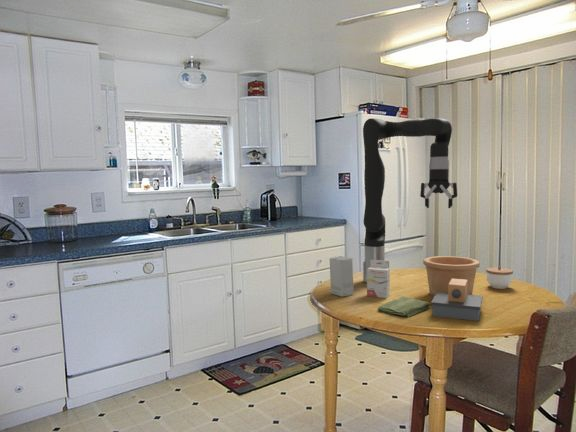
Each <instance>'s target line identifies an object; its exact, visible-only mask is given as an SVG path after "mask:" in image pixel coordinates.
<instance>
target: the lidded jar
mask: <svg viewBox="0 0 576 432" xmlns="http://www.w3.org/2000/svg"><path fill="white" fill-rule="evenodd" d="M485 271H486V274H485V275H486V276H485V277H486V281H487V283H488V284H489V285H490V287H491V288H493V289H498V290H499V289H501V290H503V289H504V290H505V289H507V288H508V287H509V286H510V285H511V284H512V282H513V275H514V270H513V269H510V268H506V267H501V265H498V267H496V266H495V267H487V268H486V269H485Z"/></svg>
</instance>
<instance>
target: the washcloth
mask: <svg viewBox="0 0 576 432" xmlns="http://www.w3.org/2000/svg"><path fill="white" fill-rule="evenodd" d="M430 306H431V303H430V302H427V301H425V300H420V299H415V298H412V297H408V296H402V295H401V296H400V297H399V298H395V299H392V300H390V301H388V302H385V303H383V304H381V305H379V306H378V307H377V311H379V312H384V313H386V314H392V315H396V316H397V315H398V316H401V317H405V318H411V317H413V316H415V315H417V314H419V313H422V312H424V311H425V310H428V309H429V308H430Z"/></svg>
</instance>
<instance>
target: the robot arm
mask: <svg viewBox="0 0 576 432" xmlns="http://www.w3.org/2000/svg"><path fill="white" fill-rule="evenodd" d="M452 131H453V128H452V123H451V122H450V120H448V119H446V118H438V117H436V118H434V117H432V118H427V119H408V120H404V121H397V122H396V121H388V120H384V119H381V118H380V119H379V118H367V120H365V121H364V124H363V127H362V134H363V135H362V137H363V147H364V148H363V149H364V172H363V173H364V174H363V175H364V176H363V177H364V181H363V182H364V197H365V198H364V199H365V204H364V213H363V226H364V228H365V233H364V234H365V235H364V242H363V243H364V261H363V263H362V268H363V269H362V271H363V272H362V275H363V277H362V282H363V283H366V284H367V269H368V268H369V267H370V260H384V261H386V260H385V255H386V253H385V251H386V249H385V243H386V242H385V241H386V217H385V215H384V213H383V209H382V206H383V205H382V202H383V201H382V200H383V196H384V195H383V194H384V189H385V184H386V183H385V182H386V171H385V169H386V168H385V164H384V162H383V159H382V156H381V154H380V151H379V141H381V140H384V139H388V138H394V137H407V138H409V137H410V138H412V137H413V138H414V137H417V138H418V137H419V138H420V137H425V136H427V137H428V136H429V137H435V139H434V142H433V143H431V144H430V149H429V151H430V152H429V165H428V169H429V173H428V175H429V177H428V178H429V179H428V180H429V181H428V183H427V182H422V183H420V193H419V194H420V197H421V198H423V199H424V207H426V209H429V208H430V196H431V195H432V194H445V195H446V196H447V197H448V202H447V205H448V209H451V208H452V207H453V199H455V198H457V197H458V183H457V182H450V181H449V178H450V177H449V176H450V175H449V173H450V171H449V169H450V167H449V166H450V165H449V164H450V162H449V161H450V160H449V145H450V141H451V137H452V133H453V132H452ZM427 187H428V188H429V191H428V192H427V193H425V189H427ZM449 187H451V189H453V190H452V191H453V192H452V193H453V195H452V194H451V192H450V191H449V190H448V189H449ZM376 264H383V263H380V262H379V263H376Z"/></svg>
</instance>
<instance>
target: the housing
mask: <svg viewBox="0 0 576 432" xmlns="http://www.w3.org/2000/svg"><path fill="white" fill-rule="evenodd" d="M467 287H468V280H465V279H451V281H450V282H449V284H448V301H454V302H464V303H465V301H466V298H467Z"/></svg>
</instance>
